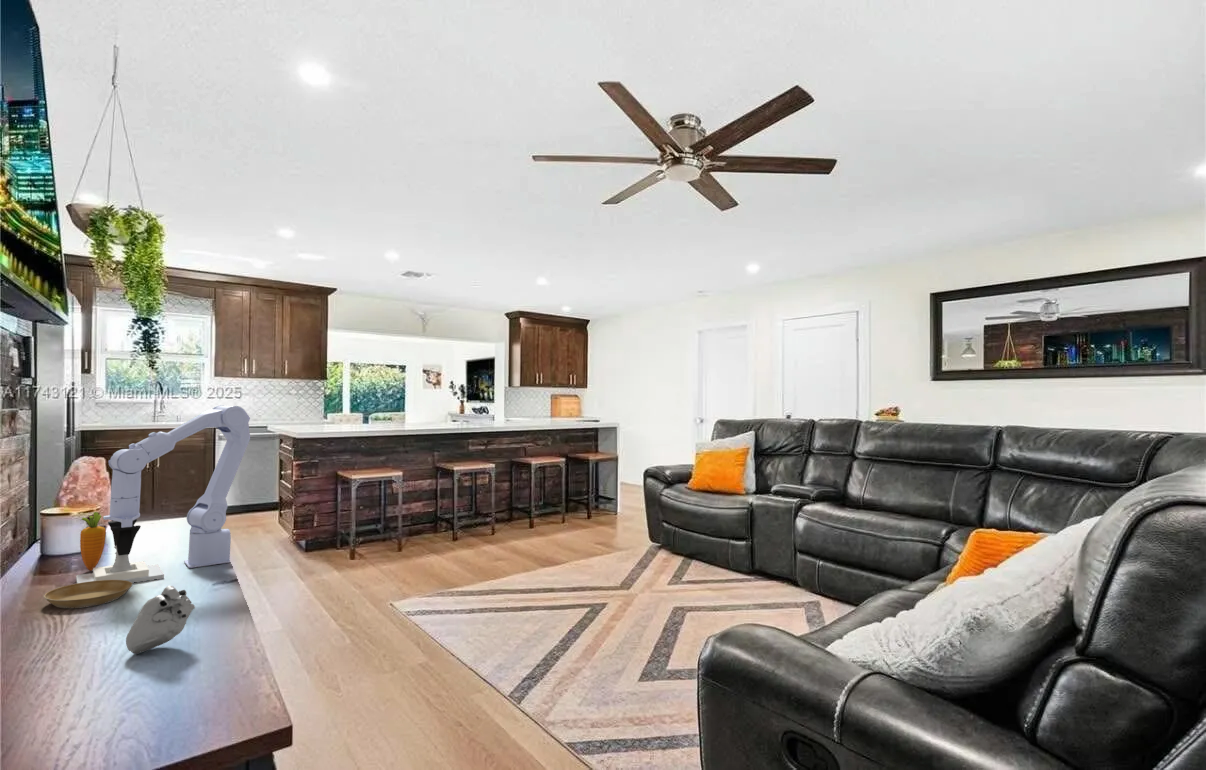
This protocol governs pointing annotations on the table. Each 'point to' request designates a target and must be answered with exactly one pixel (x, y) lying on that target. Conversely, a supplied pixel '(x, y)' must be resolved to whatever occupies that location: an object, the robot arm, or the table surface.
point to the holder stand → (124, 573)
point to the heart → (159, 620)
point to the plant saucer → (87, 593)
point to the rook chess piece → (121, 563)
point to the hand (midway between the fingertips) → (122, 551)
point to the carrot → (92, 542)
